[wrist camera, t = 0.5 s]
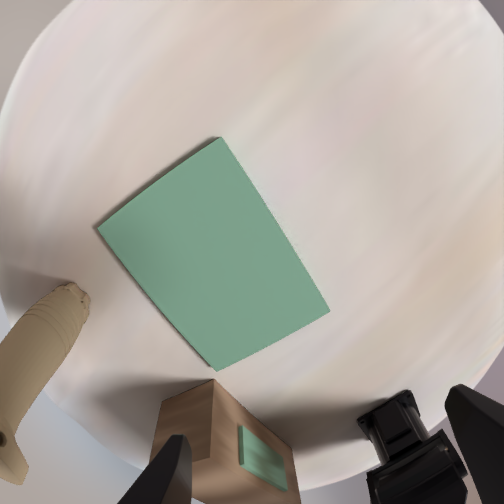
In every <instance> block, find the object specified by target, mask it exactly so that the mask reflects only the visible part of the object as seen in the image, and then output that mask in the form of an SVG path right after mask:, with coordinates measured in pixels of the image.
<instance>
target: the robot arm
mask: <svg viewBox="0 0 504 504" xmlns="http://www.w3.org/2000/svg"><path fill="white" fill-rule="evenodd" d="M445 410H446V412H447V415H448V418H449V421H450V424H451V427H452V430H453V433H454V436H455V438H456V441H457V443H458V446H459V448H460V450H461V452H462V455H463V457H464V460H465V462H466V464H467V466H468V469H469V471H470V473H471V476H472V478H473V481H474V483H475V486H476V489H477V491H478V494H479V496H480V499H481V501H482V504H504V405H502V404H500V403H498V402H496V401H494V400H492V399H490V398H488V397H486V396H484V395H482V394H480V393H479V392H477V391H475V390H473V389H471V388H469V387H467V386H465V385H463V384H458V385H456V386H453V387H452V388H451V389H450V391H449V394H448V396H447V398H446V401H445ZM357 423H358V425H359V426H360V428H361V429H362V430H363V432H364V433H365V434H366V436H367V437H368V438H369V440H370V441H371V442H372V443H373V445H374V447H375V450H376V452H377V455H378V457H379V460H380V462H381V465H382V466H380V467H379V468H376V469H374V470H371V471H369V472H367V479H366V481H367V484H368V489H369V494H370V504H466V499H467V493H468V490H467V488H466V486H465V484H464V482H463V480H462V478H464V477H465V476H467V475H468V473H467V470H466V468H465V466H464V464H463V462H462V460H461V458H460V456H459V455H458V453H457V451H456V450H455V448H454V447H453V445H452V443H451V442H450V440H449V439H448V437H447V435H446V434H445V432H444V431H443V429H441V430H439V431H438V432H437V433H436V434H434V435H433V436H431V437H430V435H429V433H428V431H427V430H426V428H425V426H424V424H423V422H422V421H421V419H420V413H419V410H418V407H417V404H416V402H415V399H414V396H413V393H412V392H411V390H408V391H406V392H404V393H403V394H401V395H399V396H398V397H396V398H394V399H393V400H391V401H389V402H388V403H386V404H384V405H382V406H381V407H379V408H377V409H375V410H373V411H372V412H370V413H368V414H366V415H364V416H362V417H360V418H359V419H358V420H357ZM445 449H446V450H445ZM191 498H192V449H191V446H190V444H189V442H188V440H187V437H186V435H184V434H172V435H171V436H170V437H169V439H168V440H167V441H166V442H165V444H164V445H163V446H162V448H161V449H160V450H159V452H158V453H157V454H156V455H155V457H154V458H153V459H152V461H151V462H150V463H149V464H148V466H147V467H146V468H145V470H144V471H143V472H142V474H141V475H140V476H139V477H138V478H137V480H136V481H135V482H134V483H133V485H132V486H131V487H130V488H129V490H128V491H127V492H126V493H125V495H124V496H123V497H122V498H121V500H120V501H119V502H118V503H117V504H191Z"/></svg>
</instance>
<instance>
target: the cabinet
mask: <svg viewBox="0 0 504 504" xmlns="http://www.w3.org/2000/svg"><path fill="white" fill-rule="evenodd" d="M172 434H184V435H186V437H187V440H188V442H189V444H190V446H191V449H192V498H195V499H197V500H199V501H201V502H203V503H205V504H301V499H300V494H299V488H298V482H297V476H296V471H295V465H294V460H293V454H292V449H291V448H290V447H289V446H288V445H287V444H285V443H284V442H283V441H282V440H281V439H279V438H278V437H277V436H276V435H275V434H273V433H272V432H271V431H270V430H269V429H268V428H266V427H265V426H264V425H263V424H262V423H261V422H260V421H258V420H257V419H256V418H255V417H254V416H253V415H252V414H251V413H250V412H248V411H247V410H246V409H245V408H244V407H243V406H242V405H241V404H240V403H239V402H238V401H237V400H235V399H234V398H233V397H232V396H231V395H230V394H229V393H228V392H227V391H226V390H225V389H224V388H223V387H222V386H221V385H220V384H219V383H218V382H217V381H216V380H215V379H213V380H211V381H209V382H206V383H204V384H202V385H200V386H198V387H195V388H193V389H191V390H188V391H186V392H184V393H181V394H179V395H177V396H174V397H172V398H170V399H167V400H165V401H162V404H161V408H160V413H159V417H158V422H157V426H156V431H155V436H154V441H153V446H152V450H151V455H150V461H149V463H150V462H151V461H152V459H153V458H154V457H155V455H156V454H157V453H158V452H159V450H160V449H161V448H162V446H163V445H164V444H165V442H166V441H167V440H168V439H169V437H170V436H171V435H172Z"/></svg>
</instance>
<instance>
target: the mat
mask: <svg viewBox="0 0 504 504" xmlns="http://www.w3.org/2000/svg"><path fill="white" fill-rule="evenodd" d="M97 229H98V231H99V232H100V233H101V235H102V236H103V238H104V239H105V240H106V242H107V243H108V244H109V246H110V247H111V248H112V250H113V251H114V253H115V254H116V255H117V257H118V258H119V259H120V260H121V262H122V263H123V264H124V266H125V267H126V268H127V270H128V271H129V272H130V273H131V275H132V276H133V277H134V278H135V280H136V281H137V282H138V284H139V285H140V286H141V287H142V288H143V290H144V291H145V292H146V293H147V295H148V296H149V297H150V298H151V299H152V301H153V302H154V303H155V304H156V305H157V307H158V308H159V309H160V310H161V311H162V313H163V314H164V315H165V316H166V317H167V318H168V320H169V321H170V322H171V323H172V324H173V325H174V326H175V328H176V329H177V330H178V331H179V332H180V333H181V334H182V335H183V336H184V338H185V339H186V340H187V341H188V342H189V343H190V344H191V345H192V346H193V347H194V349H195V350H196V351H197V352H198V353H199V354H200V355H201V356H202V357H203V358H204V359H205V360H206V361H207V362H208V363H209V364H210V366H211V367H212V368H213V369H214V370H215V371H216V372H217V371H219V370H221V369H224V368H226V367H228V366H230V365H232V364H234V363H236V362H238V361H240V360H242V359H244V358H246V357H248V356H250V355H252V354H254V353H256V352H258V351H260V350H262V349H264V348H265V347H267V346H269V345H271V344H273V343H275V342H277V341H279V340H281V339H282V338H284V337H286V336H288V335H290V334H292V333H293V332H295V331H297V330H299V329H301V328H302V327H304V326H306V325H308V324H310V323H311V322H313V321H315V320H316V319H318V318H320V317H322V316H323V315H325V314H327V313H329V312H330V309H329V307H328V306H327V304H326V302H325V301H324V299H323V297H322V295H321V294H320V292H319V290H318V289H317V287H316V285H315V284H314V282H313V280H312V279H311V277H310V275H309V274H308V272H307V270H306V269H305V267H304V265H303V264H302V262H301V260H300V259H299V257H298V256H297V254H296V252H295V251H294V249H293V247H292V246H291V244H290V243H289V241H288V239H287V238H286V236H285V234H284V233H283V231H282V230H281V228H280V226H279V225H278V223H277V222H276V220H275V218H274V217H273V215H272V214H271V212H270V210H269V209H268V207H267V206H266V204H265V203H264V201H263V199H262V198H261V196H260V195H259V193H258V192H257V190H256V188H255V187H254V185H253V184H252V182H251V181H250V179H249V178H248V176H247V175H246V173H245V171H244V170H243V168H242V167H241V165H240V164H239V162H238V161H237V159H236V158H235V156H234V155H233V153H232V152H231V150H230V149H229V147H228V146H227V144H226V143H225V141H224V140H223V138H222V137H220V138H218V139H217V140H215V141H214V142H212V143H211V144H209V145H208V146H206V147H205V148H203V149H202V150H200V151H199V152H197V153H196V154H194V155H193V156H191V157H190V158H188V159H187V160H185V161H184V162H182V163H181V164H180V165H178V166H177V167H175V168H174V169H173V170H171V171H170V172H168V173H167V174H166V175H164V176H163V177H161V178H160V179H159V180H157V181H156V182H155V183H153V184H152V185H151V186H149V187H148V188H147V189H145V190H144V191H143V192H141V193H140V194H139V195H138V196H136V197H135V198H134V199H132V200H131V201H130V202H129V203H127V204H126V205H125V206H124V207H122V208H121V209H120V210H119V211H117V212H116V213H115V214H114V215H112V216H111V217H110V218H109V219H108V220H106V221H105V222H104V223H103V224H102V225H100V226H99V227H98V228H97Z"/></svg>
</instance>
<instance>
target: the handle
mask: <svg viewBox="0 0 504 504" xmlns="http://www.w3.org/2000/svg"><path fill="white" fill-rule="evenodd" d="M89 302H90V298H89V296H88V295H87V293H84V292H83V291H81V290H80V289H79V288H78V286H77V284H75V283H69V284H67V285H66V286H64V285H61V286H59V287H57V288H56V289H54V290H53V291H52V292H51V293H50V294H48V295H46V296H45V297H43V298H42V299H41V300H39V301H38V302H37V303H36V304H34V305H33V306H32V307H31V308H30V309H29V310H28V311H27V312H26V313H25V314H24V315H23V316H22V317H21V318H20V319H19V320H18V322H17V323H16V324H15V325H14V327H13V328H12V329H11V330H10V332H9V333H8V335H7V336H6V337H5V338H4V340H3V341H2V342H1V344H0V478H2V479H4V480H6V481H8V482H10V483H13V484H16V485H22V484H23V481H24V479H25V477H26V474H27V472H28V468H29V466H28V464H27V462H26V460H25V458H24V456H23V454H22V452H21V451H20V449H19V447H18V445H17V443H16V441H15V437H14V435H15V433H16V430H17V428H18V426H19V423H20V422H21V420H22V418H23V417H24V415H25V414H26V412H27V411H28V409H29V408H30V406H31V405H32V403H33V402H34V400H35V399H36V397H37V396H38V394H39V393H40V392H41V390H42V389H43V388H44V386H45V385H46V384H47V382H48V381H49V380H50V378H51V377H52V376H53V374H54V373H55V372H56V370H57V369H58V368H59V366H60V365H61V364H62V362H63V361H64V359H65V358H66V356H67V355H68V353H69V352H70V350H71V348H72V347H73V345H74V343H75V341H76V339H77V337H78V335H79V333H80V331H81V329H82V326H83V324H84V323H85V322H86V320H87V318H88V316H89V310H88V304H89Z"/></svg>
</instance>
